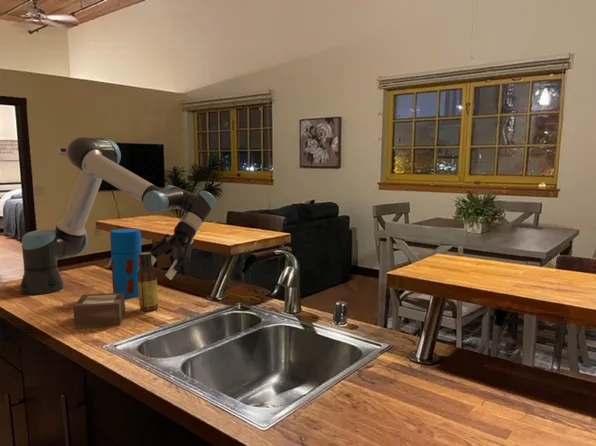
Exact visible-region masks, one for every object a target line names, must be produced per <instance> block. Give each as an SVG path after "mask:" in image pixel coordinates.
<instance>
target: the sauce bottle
mask: <svg viewBox="0 0 596 446" xmlns="http://www.w3.org/2000/svg"><path fill="white" fill-rule="evenodd" d="M151 257H152V254H151V253H150V252H148V251H147V252H146V251H145V252H144V251H143V252H141V253H140V254H139V258H140V269H139V271H138V291H139V296H138V300H139V301H138V302H139V309H140V311H142V312H152V311H155V310H158V309H159V294H158V293H159V291H158V280H157V279H158V278H157V274H156V272H155V271H156V270H155V269H154V267H153V266H154V265H153V266H152V262H151Z"/></svg>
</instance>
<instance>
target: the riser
mask: <svg viewBox="0 0 596 446" xmlns="http://www.w3.org/2000/svg"><path fill="white" fill-rule="evenodd" d="M125 306H126V301H125V298H124V292H123V293H113V292H110V293H92V294H90V293H89V294H82V295H81V296H80V298H79V299H78V300H77V301H76V303H75V304H74V305H73V307H72V308H73V322H74V325H73V326H74V330H80V329H92V328H105V327H107V328H108V327H119V326H121V324H122V322H123V319H124V317H125V314H126V307H125ZM123 316H124V317H123Z"/></svg>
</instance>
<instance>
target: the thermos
mask: <svg viewBox="0 0 596 446" xmlns="http://www.w3.org/2000/svg"><path fill="white" fill-rule="evenodd" d="M141 235H142V234H141V230H140V229H139V228H120V229H119V228H118V229H113V230H110V235H109V239H110V240H109V241H110V258H111V277H112V279H111V281H112V293H123V292H124V298H125V299H127V300H128V299H133V298H139V291H138V271H139V269H140V258H139V254H140V253H142V236H141Z"/></svg>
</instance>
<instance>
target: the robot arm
mask: <svg viewBox="0 0 596 446" xmlns="http://www.w3.org/2000/svg"><path fill="white" fill-rule="evenodd" d="M66 154H67V158H68V160H69V162H70V163H71V164H72V165H73V166H74V167H75V168H77V169H79V170H80V173H79V175H78V178H77V181H76V183H75V186H74V189H73V192H72V194H71V197H70V200H69V202H68V205H67V208H66V211H65V213H64V216H63V217H62V218H63V219H62V220H61V221H58V222H57V224H56V225H55V229H50V228H49V229H48V228H47V229H39V230H33V231H29V232H26V233H24V234H23V236H22V237H21V250H22V251H21V252H22V260H23V262H22V263H23V275H22V278H21V282H20V286H19V290H20V294H23V295H44V294H52V293H55V292H57V291H58V292H59V291H61V290H63V289H64V287H65V286H64V280H63V277H62V276H61V273H60V271H59V269H58V261H59V260H62V259H67V258H70V257H75V256H77V255H80V254H81V253H83V252H84V251H85V250H86V249H87V248H88V247H87V246H88V243H89V238H88V235H87V230H86V228H85V225H86V223H87V221H88V218H89V216H90V213H91V210H92V207H93V205H94V203H95V200H96V197H97V194H98V192H99V189H100V188H101V184H102V181H105V182H107V183H108V184H110V185H112V186H114V187H115V188H117V189H118V190H120V191H122V192H124V193H125V194H127V195H129V196H130V197H132V198H134V199H136V200H138V201H139V202H141V203H143V207H144V208H145V209H146V210H147V211H148V212H150V213H162V212H165V211H171V210H176V209H177V210H180V211H182V212H184V214H183V216H181V218H180V219H179V222H178V223H177V224H176V225H175V227H174V229H173V234H172V235H170V234H169V233H167V234H165V236H164V237H163V238H162V239H160V241H159V242H157V243H156V244H155V245H154V246H152V247H151V248H150V249H149V250H148V251H147V252H150V253H151V254H152V257H151V262H152V266H154V264H155V263H156V261H157V260H158V257H160V256H162V255H163V254H165V253H166V252H168V251H169V250H173V249H174V250H175V249H176V250H177V258H176V259H175V260H174V261H173V263H172V264H171V266H170V268H169V269H168V270H167V272H166V273H165V277H166V278H167V279H169V280H170V281H171V280H173V278H174V277H175V275H176V274H177V272H178V271H179V270H180V269H181V267H182V266H183V265H184V264H189V263H190V260H191V256H192V252H193V246H194V245H195V243H196V241H195V240H194V238H195V236H196V235H197V234H196V233H198V231H199V230H200V228H201V226H202V225H203V223H204V222H205V220H207V217H208V216H209V215H210V213H211V212H212V211H213V208H214V207H215V205H216V202H217V200H216V198H215V196H214V195H212V193H210V192H209V191H207V190H200V191H199V192H197V194H196V193H192V192H190V191H188V190H185V189H182V188H180V187H179V186H175V185H171V184H169V185H167V186H165V187H164V189H161V188H160V187H158V186H156V185H154V184H153V183H151V182H149V181H148V180H146V179H144V178H142V177H140V176H139V175H138V174H135V173H134V172H132V171H131V170H129V169H127V168H125V167H124V166H122V165H120V162H121V158H122V154H121V150H120V147H119V146H118V145H117V143H116V142H114V141H113V140H111V139H109V138H108V139H107V138H105V137H101V138H100V137H88V136H86V137H85V136H81V137H77V138H75V139H73V140H72V141H71V142H70V143H69V144H68V146H67V150H66Z"/></svg>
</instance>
